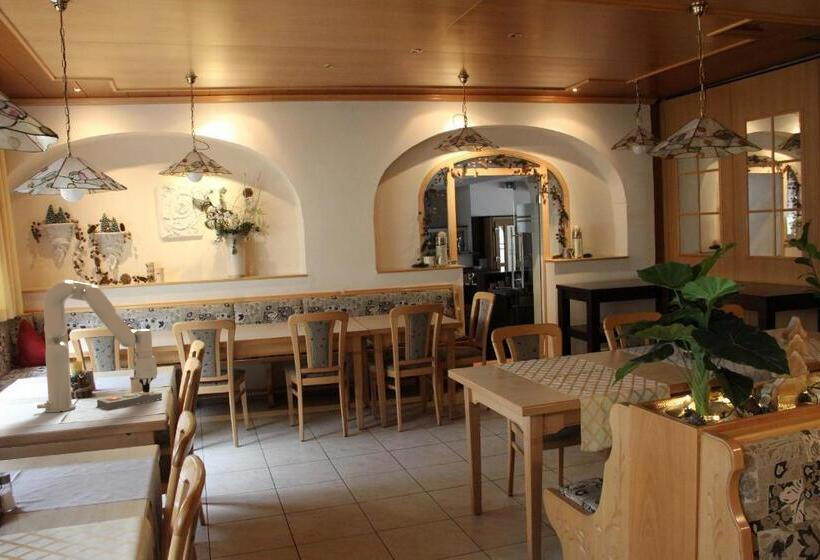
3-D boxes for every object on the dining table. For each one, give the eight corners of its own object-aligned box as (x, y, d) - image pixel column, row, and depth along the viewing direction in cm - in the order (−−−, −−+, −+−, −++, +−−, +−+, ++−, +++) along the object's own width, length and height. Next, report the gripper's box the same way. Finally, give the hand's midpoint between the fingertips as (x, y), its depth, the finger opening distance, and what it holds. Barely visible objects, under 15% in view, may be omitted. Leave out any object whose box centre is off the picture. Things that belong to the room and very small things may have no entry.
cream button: (143, 399, 334) (143, 393, 334) (138, 398, 338) (138, 392, 337) (153, 397, 338) (153, 391, 338) (148, 396, 341) (148, 390, 341)
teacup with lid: (151, 394, 350) (150, 371, 349) (132, 396, 346) (130, 373, 345) (147, 390, 360) (146, 367, 360) (129, 392, 356) (128, 369, 356)
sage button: (127, 403, 328) (127, 396, 328) (122, 401, 332) (122, 395, 332) (137, 401, 332) (137, 394, 332) (132, 399, 335) (132, 393, 335)
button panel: (108, 409, 318) (108, 403, 318) (97, 405, 327) (97, 399, 326) (161, 399, 337) (161, 393, 337) (150, 395, 345) (150, 389, 345)
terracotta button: (110, 406, 323) (110, 399, 322) (105, 404, 326) (105, 398, 326) (121, 404, 326) (120, 397, 326) (116, 402, 330) (116, 396, 329)
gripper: (132, 357, 329) (134, 395, 330) (162, 353, 339) (164, 390, 340) (125, 356, 334) (127, 393, 335) (155, 351, 345) (157, 388, 346)
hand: (146, 391), depth 338 cm, fingers closed
